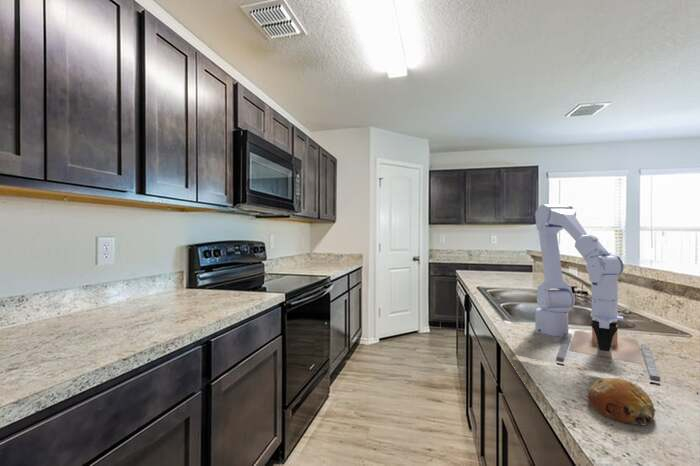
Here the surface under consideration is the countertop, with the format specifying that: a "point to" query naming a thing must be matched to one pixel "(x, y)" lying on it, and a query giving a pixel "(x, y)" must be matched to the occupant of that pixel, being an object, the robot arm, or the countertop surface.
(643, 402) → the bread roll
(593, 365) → the countertop surface
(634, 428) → the countertop surface
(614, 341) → the terracotta block
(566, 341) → the guide rails
